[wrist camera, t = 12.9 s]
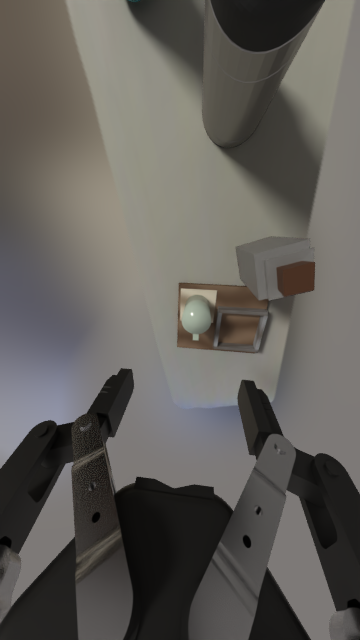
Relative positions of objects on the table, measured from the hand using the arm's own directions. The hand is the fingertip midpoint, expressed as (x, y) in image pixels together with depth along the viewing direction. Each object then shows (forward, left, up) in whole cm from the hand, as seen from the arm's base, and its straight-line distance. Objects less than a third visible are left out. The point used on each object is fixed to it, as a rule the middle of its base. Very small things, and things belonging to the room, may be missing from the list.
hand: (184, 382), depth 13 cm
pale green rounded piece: (+7, +1, -28) cm, 29 cm away
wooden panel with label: (+9, +7, -30) cm, 32 cm away
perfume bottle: (-5, +12, -30) cm, 33 cm away
